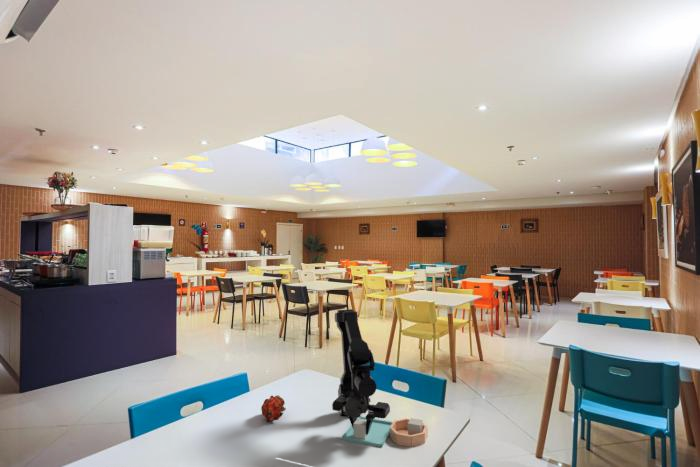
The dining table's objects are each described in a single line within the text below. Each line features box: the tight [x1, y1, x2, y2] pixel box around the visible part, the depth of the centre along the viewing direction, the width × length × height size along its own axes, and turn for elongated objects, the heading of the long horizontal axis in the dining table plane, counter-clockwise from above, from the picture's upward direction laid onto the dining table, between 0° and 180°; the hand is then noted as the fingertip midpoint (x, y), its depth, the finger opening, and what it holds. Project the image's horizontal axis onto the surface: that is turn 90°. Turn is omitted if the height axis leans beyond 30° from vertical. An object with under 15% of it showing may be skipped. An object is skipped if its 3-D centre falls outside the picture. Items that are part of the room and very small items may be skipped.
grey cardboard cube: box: [353, 418, 369, 440], centre depth 123 cm, size 4×4×5 cm
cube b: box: [408, 417, 424, 435], centre depth 122 cm, size 4×4×5 cm
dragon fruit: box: [260, 395, 287, 423], centre depth 139 cm, size 8×8×12 cm
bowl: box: [389, 417, 429, 448], centre depth 122 cm, size 12×12×4 cm
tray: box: [341, 415, 393, 448], centre depth 126 cm, size 14×16×1 cm
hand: (361, 432), depth 123 cm, fingers closed on grey cardboard cube, 4 cm apart
